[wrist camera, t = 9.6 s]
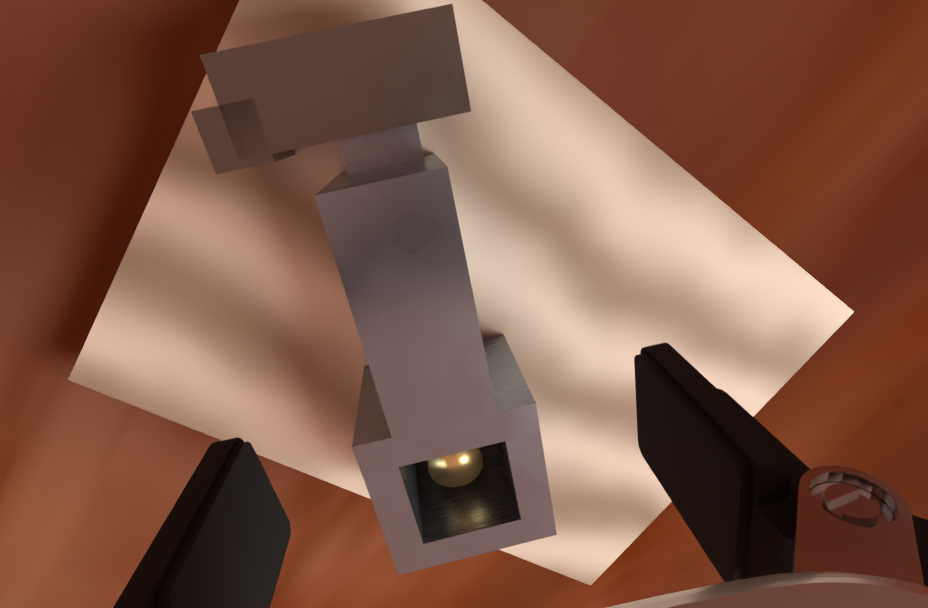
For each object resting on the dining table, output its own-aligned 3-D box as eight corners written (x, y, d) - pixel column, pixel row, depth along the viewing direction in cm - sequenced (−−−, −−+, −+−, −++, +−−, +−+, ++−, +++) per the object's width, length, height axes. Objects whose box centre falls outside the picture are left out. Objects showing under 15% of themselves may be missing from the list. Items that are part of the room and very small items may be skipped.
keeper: (229, 75, 19) (170, 60, 14) (439, 32, 19) (452, 3, 14) (259, 161, 20) (215, 174, 15) (456, 119, 21) (472, 119, 16)
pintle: (437, 363, 25) (447, 435, 19) (473, 381, 26) (493, 456, 20) (414, 395, 26) (417, 474, 20) (450, 413, 26) (463, 494, 21)
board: (316, -119, 17) (305, -148, 15) (823, 298, 27) (854, 311, 25) (95, 358, 23) (68, 379, 21) (579, 559, 32) (590, 585, 31)
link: (264, 59, 17) (199, 31, 12) (447, 22, 17) (468, -23, 12) (399, 474, 25) (398, 575, 20) (523, 444, 25) (556, 534, 20)
